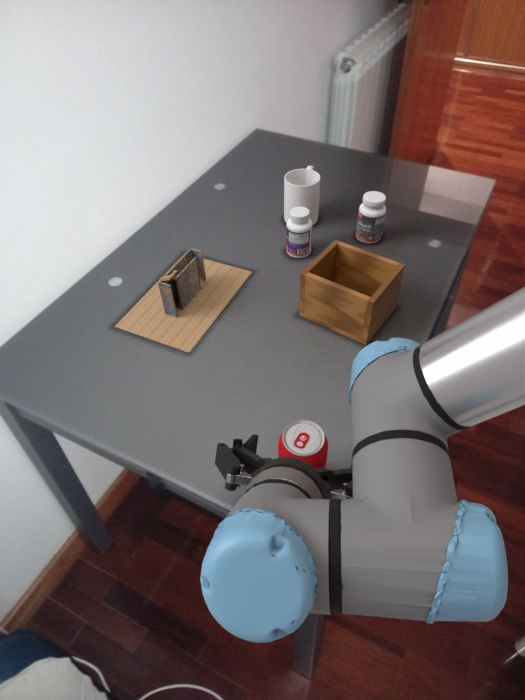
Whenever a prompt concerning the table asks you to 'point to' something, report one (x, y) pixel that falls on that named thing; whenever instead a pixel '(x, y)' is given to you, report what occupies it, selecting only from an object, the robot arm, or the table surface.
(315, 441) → the beverage can
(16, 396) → the table surface
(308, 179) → the mug
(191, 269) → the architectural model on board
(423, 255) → the table surface
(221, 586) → the robot arm
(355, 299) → the crate
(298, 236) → the pill bottle
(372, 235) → the pill bottle
